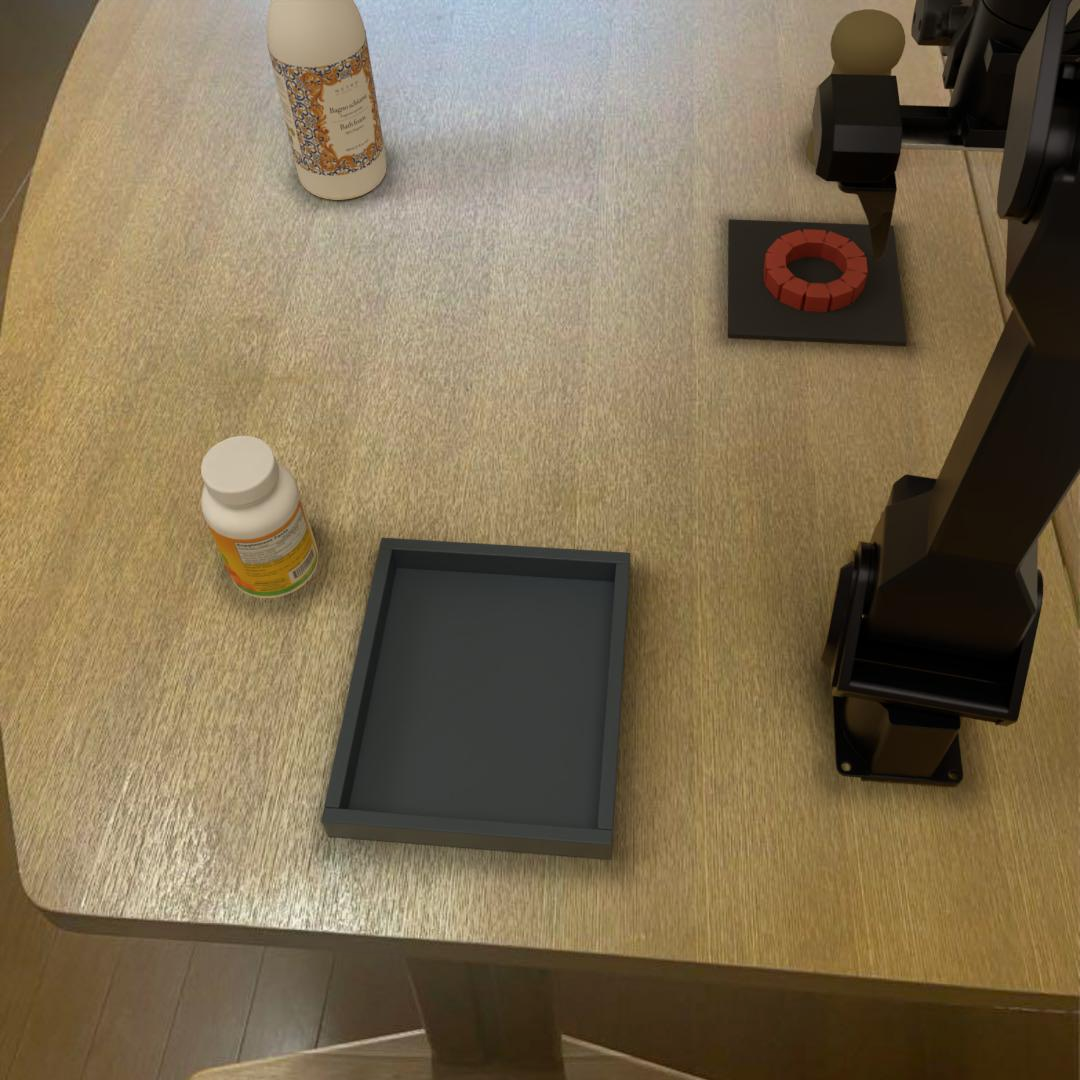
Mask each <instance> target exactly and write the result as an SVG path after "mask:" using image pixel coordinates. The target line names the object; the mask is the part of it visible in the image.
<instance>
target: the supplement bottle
mask: <svg viewBox="0 0 1080 1080" xmlns="http://www.w3.org/2000/svg"><path fill="white" fill-rule="evenodd" d="M200 473H201V478H202V481H203V483H204V487H203V489H202V494H201V499H200V506H201V510H202V515H203V517H204V520H205V523H206V524H207V527H208V530H209V531H210V534H211V535H212V538H213V540H214V543H215V545H216V548H217V550H218V552H219V555H220V556H221V559H222V561H223V564H224V566H225V568H226V570H227V573H228V574H229V577H230V579H231V580H232V582H233V584H234V585H235V587H236V588H237V589H239V591H240V592H243V593H244V594H245V595H248V596H250V597H254V598H259V599H275V598H280V597H284V596H287V595H291V594H292V593H293V592H295V591H298V590H299V589H300V588H301V587H303V586H304V585H305V584H307V583H308V582H309V580H310V579H311V578H312V576H313V575H314V573H315V572H316V569H317V567H318V564H319V549H318V545H317V542H316V539H315V536H314V533H313V530H312V526H311V524H310V520H309V517H308V514H307V511H306V508H305V505H304V502H303V497H302V495H301V492H300V489H299V486H298V483H297V481H296V478H295V477H294V475H293V473H292V472H291V471H290V470H289V468H287V467H286V466H285V465H284V464H282V463H281V462H279V461H278V460H277V459H276V455H275V453H274V450H273V449H272V447H271V446H270V445H269V444H268V443H267V442H265V440H262V439H261V438H259V437H256V436H251V435H235V436H232V437H231V436H230V437H227V438H224V439H223V440H221V441H219V442H217V443H216V444H215V445H213V446H212V447H210V449H209V450H208V451H207V452H206V454H205V455H204V457H203V459H202V461H201V465H200Z"/></svg>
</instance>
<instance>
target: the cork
mask: <svg viewBox="0 0 1080 1080" xmlns="http://www.w3.org/2000/svg"><path fill="white" fill-rule="evenodd" d="M905 46H906V33H905V29H904V27H903V24H902V23H901V21H900V20H899V19H898V18H897V17H896V16H893V15H892V14H891V13H889V12H886V11H882V10H879V9H867V8H866V9H859V10H854V11H852V12H849V13H847V14H846V15H844V16H843V17H842V18H841V19H840V20H839V21H838V23H837V24H836V26H835V28H834V30H833V32H832V34H831V39H830V53H831V59H832V60H833V62H834V63H833V67H832V69H831V72H830V74H858V75H892V70H893V69H894V68H895V67H896V66H897V65H898V64H899V62H900V60H901V58H902V56H903V53H904V50H905ZM805 153H806V158H807V159H808V160H809V162H810V163H811V164H812V165H814V166H815V158H814V141H813V127H812V128H811V131H810V134H809V137H808V140H807V143H806V147H805Z"/></svg>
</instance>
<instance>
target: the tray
mask: <svg viewBox="0 0 1080 1080" xmlns="http://www.w3.org/2000/svg"><path fill="white" fill-rule="evenodd" d="M630 571H631V553H630V552H627V551H611V550H609V551H608V550H595V549H594V550H593V549H574V548H562V547H561V548H559V547H545V546H544V547H543V546H542V547H541V546H527V545H512V544H511V545H509V544H496V543H495V544H494V543H492V544H491V543H479V542H477V543H476V542H461V541H460V542H459V541H447V540H431V539H430V540H429V539H428V540H427V539H413V538H398V537H397V538H396V537H381V538H380V542H379V547H378V552H377V556H376V561H375V566H374V571H373V575H372V580H371V585H370V589H369V594H368V598H367V603H366V608H365V612H364V617H363V623H362V627H361V631H360V636H359V641H358V646H357V650H356V655H355V659H354V664H353V669H352V674H351V679H350V682H349V688H348V693H347V697H346V702H345V706H344V712H343V716H342V721H341V724H340V725H341V726H340V729H339V735H338V738H337V744H336V749H335V753H334V758H333V763H332V767H331V772H330V777H329V782H328V787H327V791H326V796H325V800H324V805H323V806H324V808H323V811H322V814H321V818H320V822H321V824H322V826H323V828H324V830H325V833H326V835H327V837H328V838H334V839H336V838H337V839H345V840H347V839H349V840H357V841H369V842H370V841H372V842H384V843H397V844H407V845H421V846H430V847H431V846H433V847H445V848H456V849H468V850H469V849H470V850H481V851H494V852H505V853H506V852H507V853H517V854H519V853H520V854H530V855H531V854H532V855H544V856H554V857H566V858H567V857H569V858H577V859H579V858H581V859H590V860H591V859H592V860H593V859H594V860H604V861H611V860H612V858H613V857H612V856H613V844H614V843H613V841H614V827H615V826H614V825H615V810H616V794H617V780H618V776H617V775H618V762H619V747H620V745H619V744H620V731H621V716H622V715H621V713H622V698H623V683H624V682H623V681H624V670H625V669H624V668H625V654H626V653H625V651H626V636H627V619H628V606H629V605H628V603H629V590H630V589H629V588H630V573H631V572H630Z"/></svg>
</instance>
